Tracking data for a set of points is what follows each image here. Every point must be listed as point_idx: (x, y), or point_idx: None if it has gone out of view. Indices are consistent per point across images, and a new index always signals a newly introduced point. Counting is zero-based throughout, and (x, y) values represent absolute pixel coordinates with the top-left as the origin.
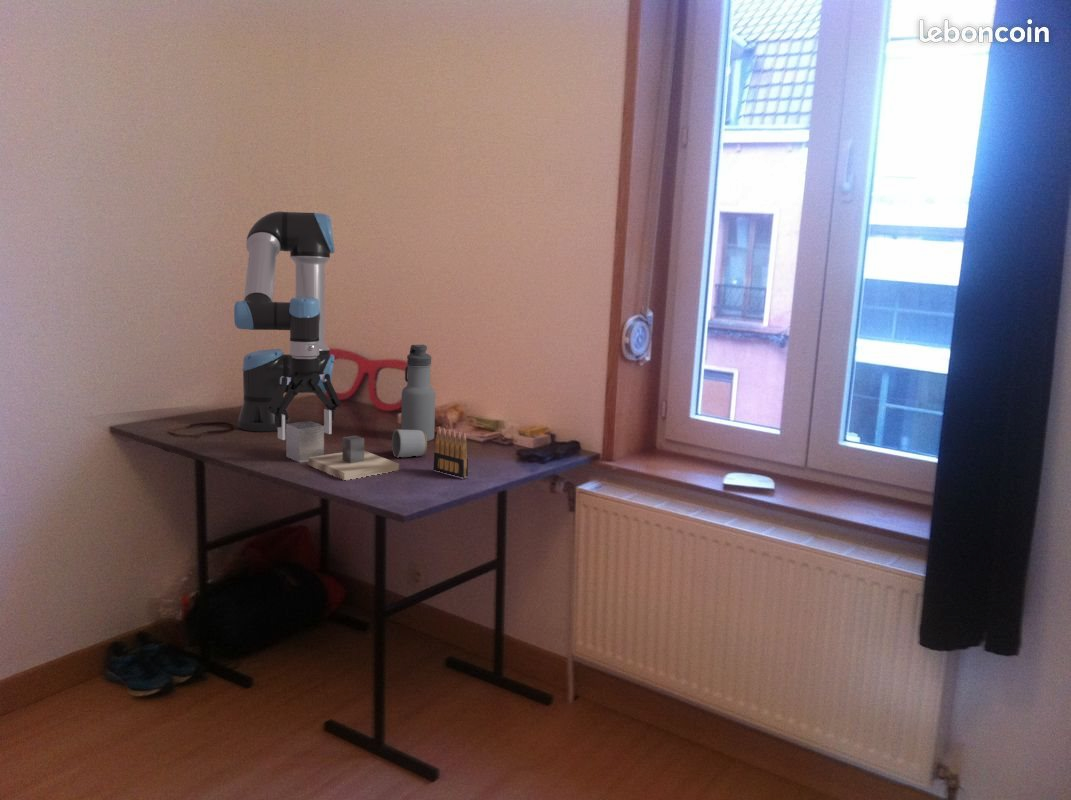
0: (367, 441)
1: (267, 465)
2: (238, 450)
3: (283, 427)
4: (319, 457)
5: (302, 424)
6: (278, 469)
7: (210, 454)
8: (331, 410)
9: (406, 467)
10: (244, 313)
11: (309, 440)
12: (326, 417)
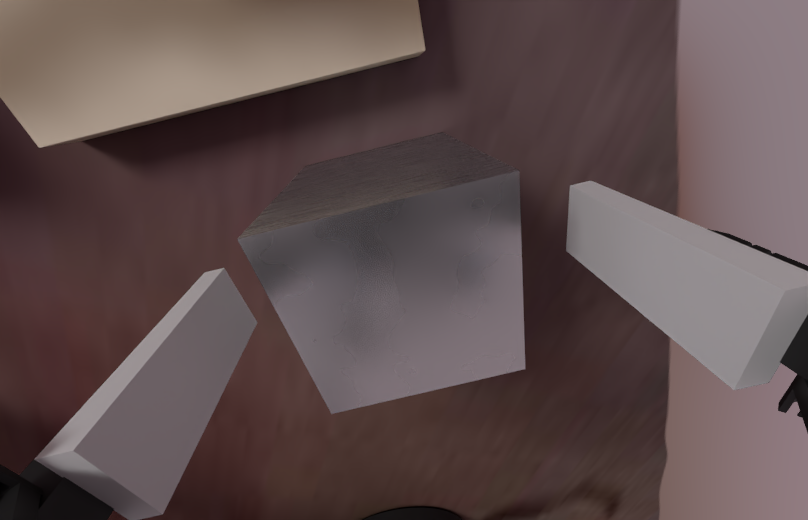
0: (78, 390)
1: (595, 134)
2: (567, 370)
3: (658, 216)
4: (353, 17)
5: (421, 333)
6: (594, 20)
7: (661, 348)
8: (38, 456)
9: None
10: None
11: (394, 169)
12: (180, 394)
